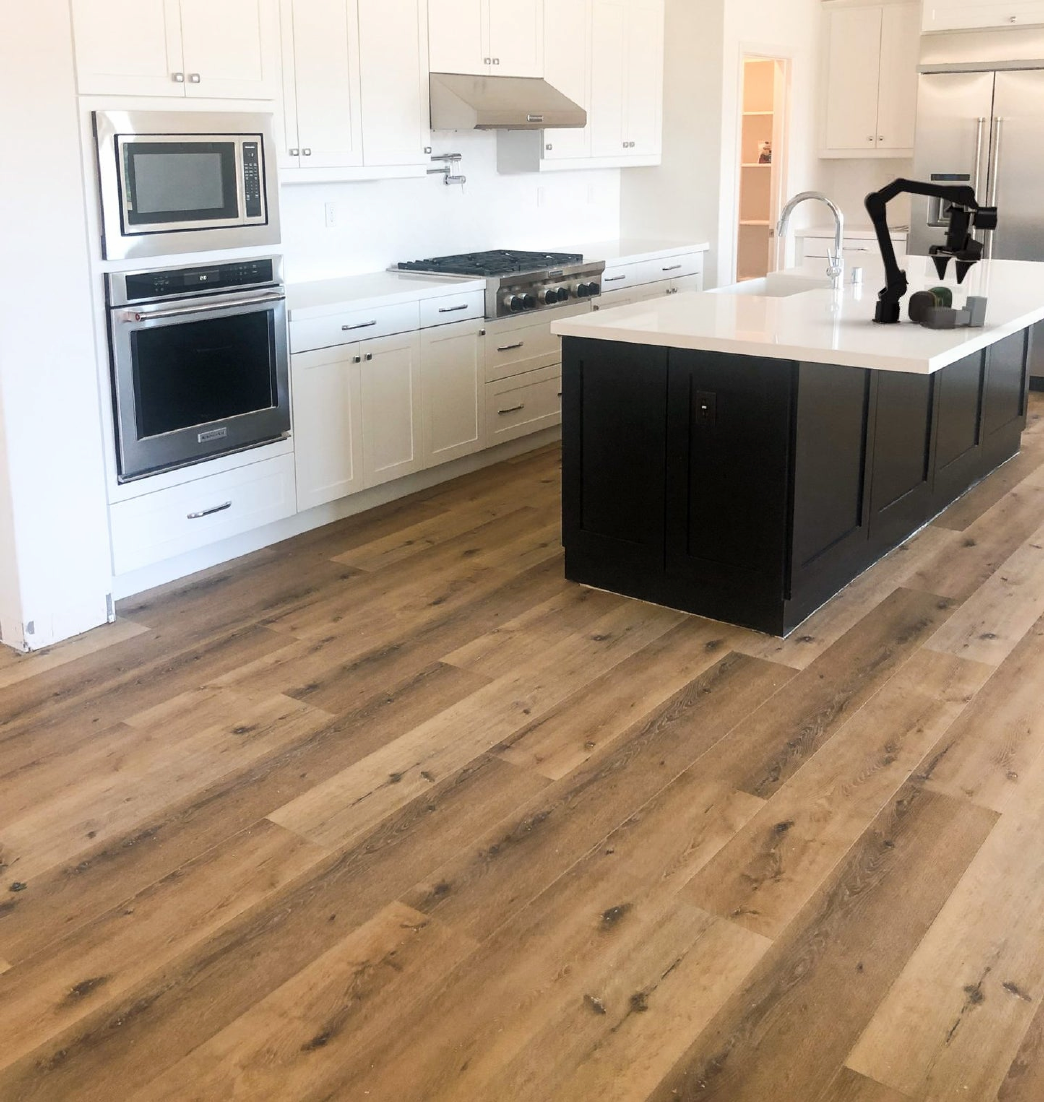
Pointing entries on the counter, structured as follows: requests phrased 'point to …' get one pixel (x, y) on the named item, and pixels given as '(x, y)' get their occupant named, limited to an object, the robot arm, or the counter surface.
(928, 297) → the coffee jar
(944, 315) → the housing
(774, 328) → the counter surface
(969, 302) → the end cover
